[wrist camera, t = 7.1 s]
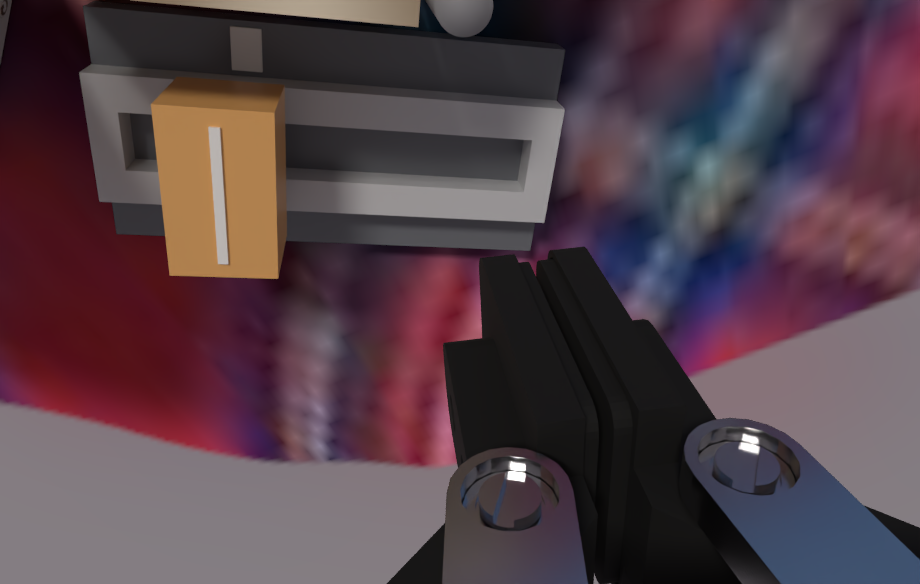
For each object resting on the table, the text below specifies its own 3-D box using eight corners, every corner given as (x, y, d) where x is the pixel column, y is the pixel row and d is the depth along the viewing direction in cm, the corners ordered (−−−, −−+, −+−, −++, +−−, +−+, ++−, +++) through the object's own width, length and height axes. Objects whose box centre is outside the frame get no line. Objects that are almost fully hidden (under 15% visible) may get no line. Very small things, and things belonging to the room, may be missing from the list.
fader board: (557, 43, 26) (574, 57, 24) (524, 238, 30) (536, 264, 28) (94, 0, 23) (69, 11, 21) (125, 220, 27) (106, 248, 25)
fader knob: (289, 69, 24) (274, 113, 19) (291, 210, 26) (277, 280, 21) (190, 62, 23) (149, 105, 18) (202, 206, 26) (168, 277, 21)
